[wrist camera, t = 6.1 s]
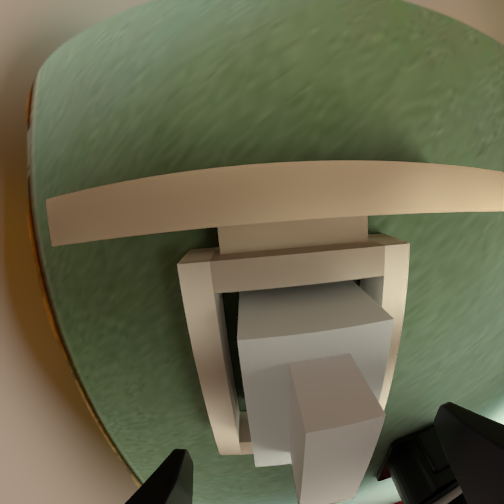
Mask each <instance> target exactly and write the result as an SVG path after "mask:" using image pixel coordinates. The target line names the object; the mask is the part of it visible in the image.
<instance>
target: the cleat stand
mask: <svg viewBox="0 0 504 504" xmlns="http://www.w3.org/2000/svg"><path fill="white" fill-rule="evenodd" d="M45 200H46V210H47V218H48V225H49V232H50V238H51V244H52V247H54V246H60V245H68V244H75V243H82V242H89V241H97V240H105V239H113V238H121V237H129V236H137V235H146V234H155V233H164V232H173V231H182V230H192V229H202V228H212V227H217V228H218V237H219V247H213V248H202V249H191V250H189V251H188V252H187V254H186V255H185V256H184V257H183V258H182V259H181V260H180V261H179V263H178V264H177V268H178V274H179V281H180V287H181V293H182V298H183V304H184V310H185V315H186V320H187V325H188V330H189V335H190V340H191V345H192V350H193V354H194V359H195V363H196V368H197V372H198V376H199V381H200V385H201V389H202V393H203V397H204V401H205V404H206V408H207V412H208V416H209V419H210V423H211V427H212V430H213V434H214V437H215V440H216V444H217V447H218V450H219V454H220V455H240V454H253V448H252V442H251V435H250V429H249V422H248V415H247V411H243V412H240V411H239V405H238V399H237V393H236V387H235V381H234V374H233V368H232V361H231V355H230V348H229V341H228V334H227V327H226V319H225V312H224V304H223V297H222V293H225V292H238V291H250V290H261V289H272V288H282V287H293V286H302V285H312V284H321V283H329V282H338V281H346V280H355V279H360V288H361V289H362V290H364V291H365V292H366V293H367V294H368V295H369V296H370V297H371V298H372V299H373V300H374V301H376V302H377V303H378V304H379V305H380V306H381V307H382V308H383V309H384V310H385V311H386V312H387V313H388V314H389V315H390V316H392V317H393V318H394V323H393V330H392V337H391V344H390V350H389V356H388V361H387V366H386V372H385V376H384V381H383V386H382V390H381V394H380V399H379V404H380V405H381V407H382V409H383V411H384V410H385V406H386V402H387V399H388V395H389V391H390V387H391V383H392V378H393V374H394V369H395V365H396V360H397V355H398V349H399V344H400V338H401V332H402V325H403V318H404V311H405V302H406V293H407V283H408V270H409V252H410V243H407V242H405V241H402V240H400V239H397V238H394V237H392V236H389V235H386V234H383V233H380V234H368V216H370V215H389V214H412V213H439V212H480V211H504V172H500V171H493V170H487V169H479V168H471V167H463V166H454V165H443V164H431V163H417V162H399V161H365V160H333V161H298V162H278V163H263V164H250V165H238V166H228V167H218V168H209V169H201V170H193V171H185V172H178V173H171V174H164V175H158V176H152V177H146V178H140V179H134V180H129V181H124V182H118V183H113V184H108V185H103V186H99V187H94V188H90V189H85V190H81V191H77V192H72V193H68V194H64V195H60V196H56V197H53V198H49V199H45Z"/></svg>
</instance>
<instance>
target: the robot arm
mask: <svg viewBox="0 0 504 504" xmlns="http://www.w3.org/2000/svg"><path fill="white" fill-rule="evenodd" d="M434 425H435V426H432V427H430V428H428V429H425V430H423V431H420V432H418V433H415V434H413V435H410V436H407V437H404V438H402V439H399V440H396V441H394V442H393V443H392V444H391V446H390V448H389V450H388V453H387V455H386V457H385V460H384V462H383V464H382V466H381V468H380V470H379V473H378V475H377V477H376V478H377V481H381V480H385V479H387V478H390V477H392V480H393V482H394V484H395V486H396V489H397V491H398V493H399V495H400V498H401V500H402V502H403V504H504V425H503V424H500V423H498V422H495V421H493V420H491V419H488V418H486V417H483V416H481V415H479V414H476V413H474V412H472V411H470V410H467V409H465V408H463V407H461V406H458V405H456V404H454V403H452V402H447V403H445V404H443V405H441V406H440V407H439V409H438V412H437V414H436V416H435V419H434ZM192 496H193V462H192V459H191V457H190V455H189V452H188V451H187V450H186V449H174V450H173V451H172V452H171V454H170V455H169V456H168V457H167V458H166V459H165V460H164V462H163V463H162V464H161V465H160V466H159V467H158V468H157V469H156V471H155V472H154V473H153V474H152V475H151V476H150V477H149V478H148V479H147V480H146V482H145V483H144V484H143V485H142V486H141V487H140V488H139V489H138V490H137V491H136V492H135V493H134V495H133V496H132V497H131V498H130V499H129V500H128V501H127V502H126V503H125V504H192Z"/></svg>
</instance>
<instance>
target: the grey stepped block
mask: <svg viewBox="0 0 504 504" xmlns="http://www.w3.org/2000/svg"><path fill="white" fill-rule="evenodd" d="M393 323H394V318H393V317H392V316H390V315H389V314H388V313H387V312H386V311H385V310H384V309H383V308H382V307H381V306H380V305H379V304H378V303H377V302H376V301H374V300H373V299H372V298H371V297H370V296H369V295H368V294H367V293H366V292H365V291H364V290H362V289H361V288H360V287H359V286H358V285H357V284H356V283H355V282H354V281H353V280H346V281H338V282H329V283H321V284H312V285H302V286H293V287H282V288H272V289H261V290H250V291H240V293H239V312H238V332H237V343H238V351H239V359H240V366H241V373H242V381H243V388H244V395H245V402H246V409H247V415H248V422H249V429H250V435H251V442H252V448H253V454H254V460H255V466H256V467H263V466H275V465H284V464H292V468H293V474H294V481H295V487H296V493H297V499H298V504H331V503H336V502H340V501H344V500H348V499H352V498H354V497H355V495H356V493H357V491H358V488H359V486H360V484H361V482H362V479H363V477H364V475H365V472H366V470H367V468H368V465H369V463H370V460H371V457H372V455H373V452H374V449H375V447H376V444H377V441H378V438H379V435H380V432H381V429H382V426H383V423H384V420H385V417H386V414H385V412H384V411H383V409H382V407H381V405H380V404H379V399H380V394H381V390H382V386H383V381H384V376H385V372H386V366H387V361H388V356H389V350H390V344H391V337H392V330H393Z"/></svg>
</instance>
